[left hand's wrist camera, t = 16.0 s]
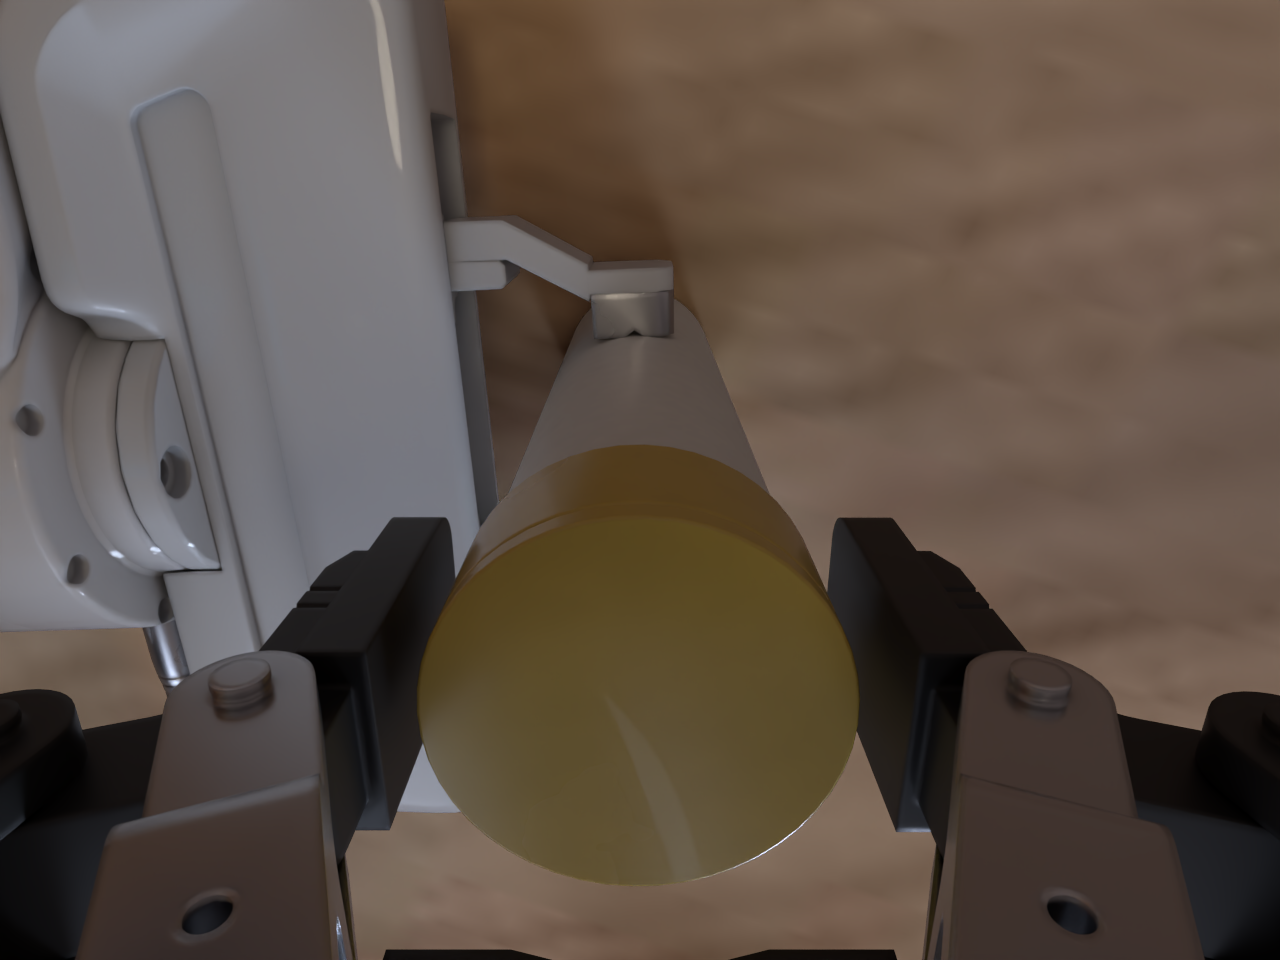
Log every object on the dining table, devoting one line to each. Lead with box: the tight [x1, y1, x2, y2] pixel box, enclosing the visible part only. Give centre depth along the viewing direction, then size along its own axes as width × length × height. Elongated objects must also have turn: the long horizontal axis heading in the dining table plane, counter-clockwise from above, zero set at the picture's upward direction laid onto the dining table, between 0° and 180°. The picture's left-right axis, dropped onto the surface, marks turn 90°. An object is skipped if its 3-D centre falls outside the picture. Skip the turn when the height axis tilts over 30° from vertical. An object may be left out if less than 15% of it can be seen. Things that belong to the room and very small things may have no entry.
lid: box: [417, 444, 860, 886], centre depth 10 cm, size 5×5×2 cm
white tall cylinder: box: [509, 299, 770, 495], centre depth 17 cm, size 4×4×17 cm
